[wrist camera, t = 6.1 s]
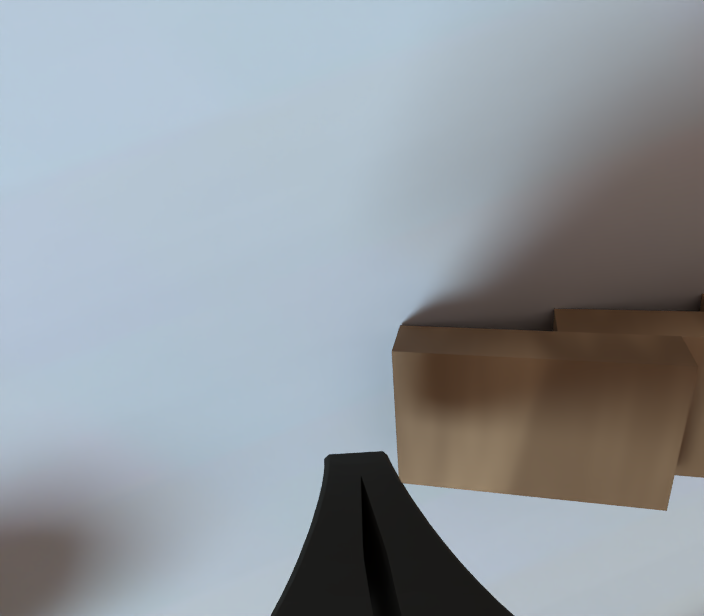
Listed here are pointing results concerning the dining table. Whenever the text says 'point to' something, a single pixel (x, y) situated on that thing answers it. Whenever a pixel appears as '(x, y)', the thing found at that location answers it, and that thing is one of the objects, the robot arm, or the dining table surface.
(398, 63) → the dining table surface
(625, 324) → the domino
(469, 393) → the domino
